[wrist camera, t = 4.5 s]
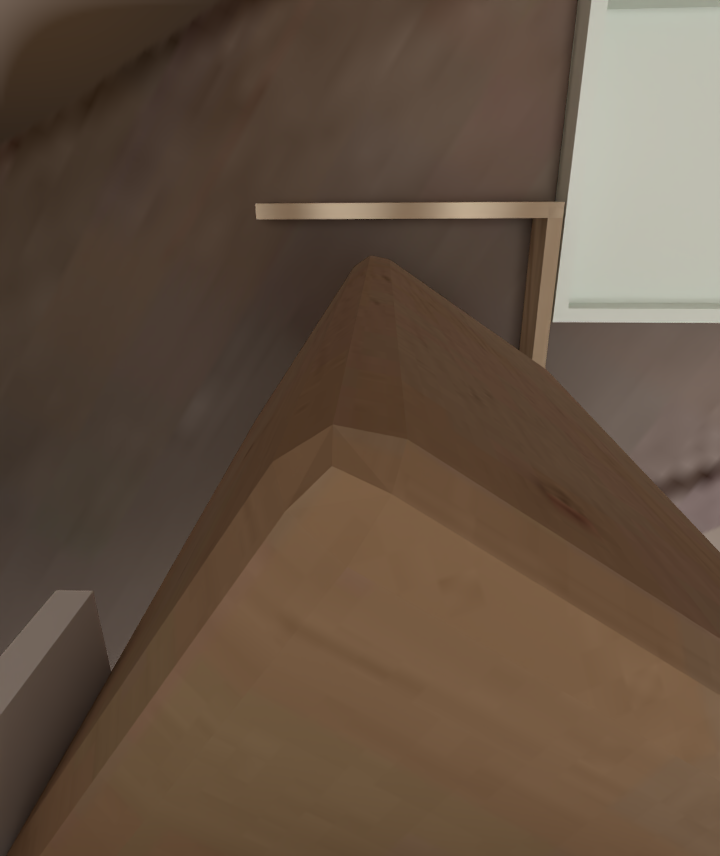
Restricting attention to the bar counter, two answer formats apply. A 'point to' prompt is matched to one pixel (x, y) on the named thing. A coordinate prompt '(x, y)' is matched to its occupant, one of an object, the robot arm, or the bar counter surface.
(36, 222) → the bar counter surface
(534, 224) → the bay
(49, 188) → the bar counter surface
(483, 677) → the wooden block
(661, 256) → the tray
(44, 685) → the robot arm
